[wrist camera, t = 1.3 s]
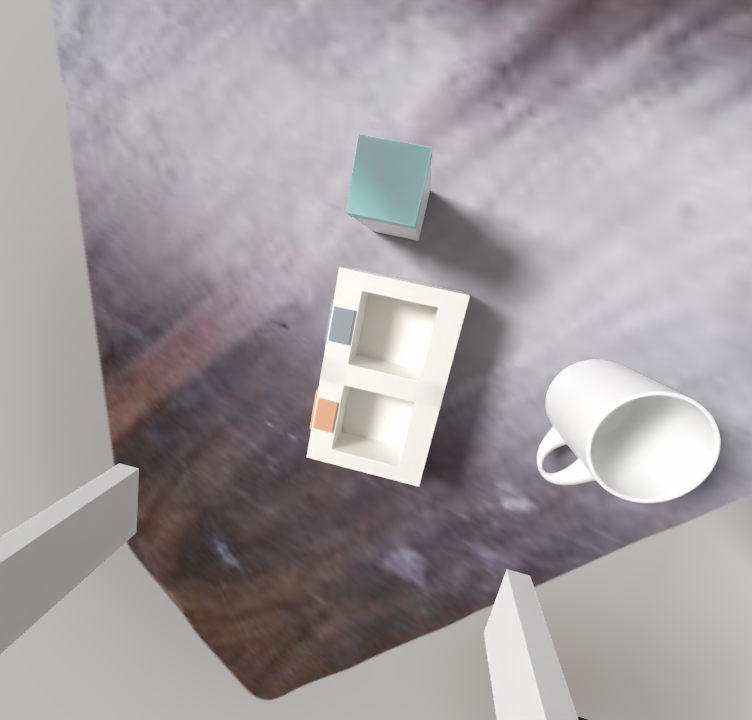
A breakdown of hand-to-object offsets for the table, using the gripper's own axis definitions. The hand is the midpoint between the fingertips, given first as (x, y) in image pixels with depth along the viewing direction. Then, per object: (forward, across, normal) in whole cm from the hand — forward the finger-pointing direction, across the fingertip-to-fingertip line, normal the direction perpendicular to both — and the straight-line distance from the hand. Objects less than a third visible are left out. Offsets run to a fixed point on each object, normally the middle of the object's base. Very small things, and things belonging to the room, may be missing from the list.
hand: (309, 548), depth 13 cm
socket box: (+26, 0, 0) cm, 27 cm away
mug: (+27, +19, 0) cm, 33 cm away
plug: (+26, -2, +15) cm, 30 cm away
